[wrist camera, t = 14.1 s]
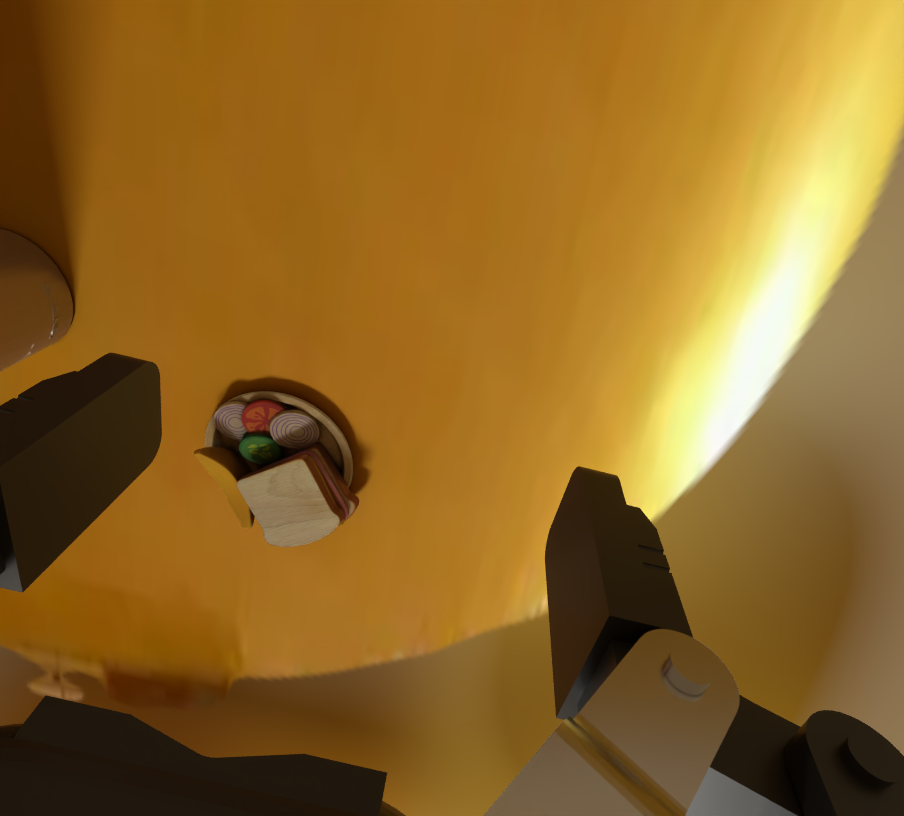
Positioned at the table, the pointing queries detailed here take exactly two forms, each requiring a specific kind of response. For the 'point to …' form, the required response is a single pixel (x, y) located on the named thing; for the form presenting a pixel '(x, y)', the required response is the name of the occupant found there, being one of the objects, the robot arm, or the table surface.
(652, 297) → the table surface
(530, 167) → the table surface
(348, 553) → the table surface
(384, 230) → the table surface
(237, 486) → the toy sandwich meal
